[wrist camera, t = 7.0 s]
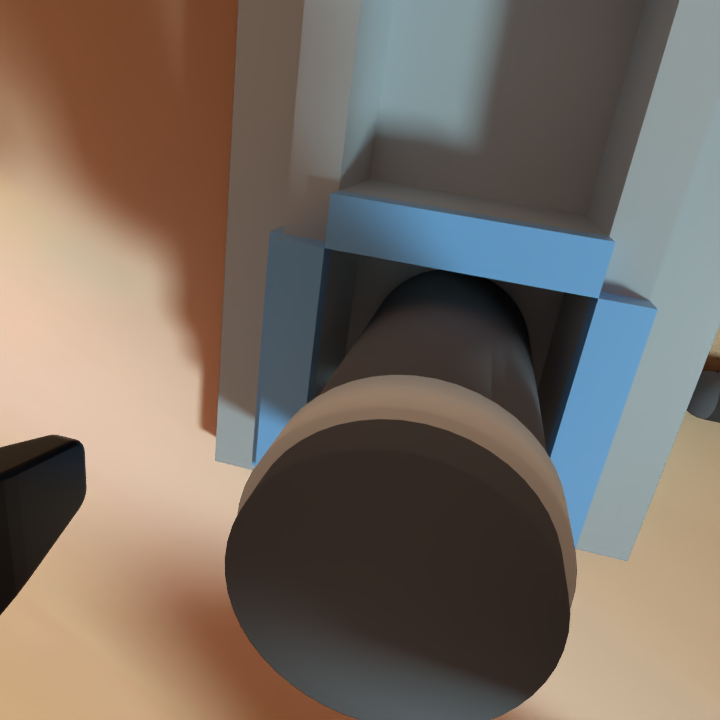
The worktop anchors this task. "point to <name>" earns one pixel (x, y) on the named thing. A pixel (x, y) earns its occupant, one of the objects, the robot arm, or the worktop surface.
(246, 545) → the dark grey cylinder
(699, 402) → the rod
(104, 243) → the worktop surface
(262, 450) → the narrow cubby shelf
